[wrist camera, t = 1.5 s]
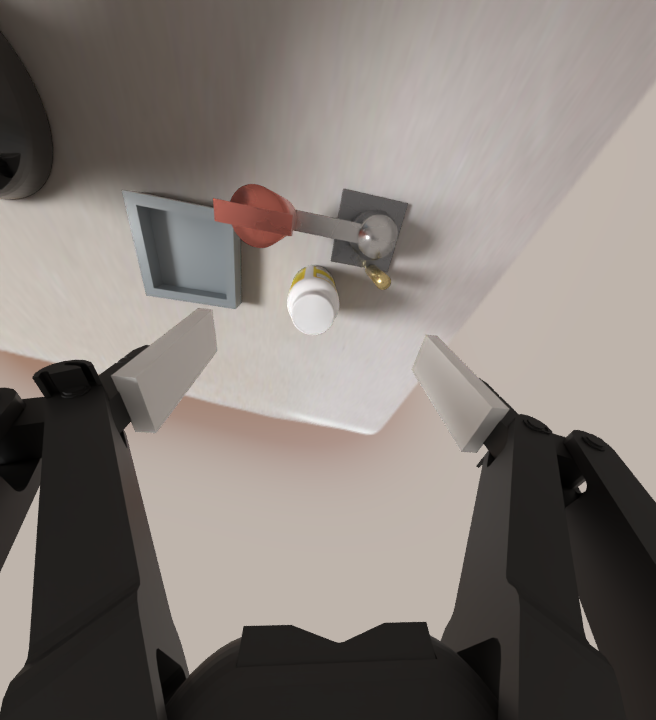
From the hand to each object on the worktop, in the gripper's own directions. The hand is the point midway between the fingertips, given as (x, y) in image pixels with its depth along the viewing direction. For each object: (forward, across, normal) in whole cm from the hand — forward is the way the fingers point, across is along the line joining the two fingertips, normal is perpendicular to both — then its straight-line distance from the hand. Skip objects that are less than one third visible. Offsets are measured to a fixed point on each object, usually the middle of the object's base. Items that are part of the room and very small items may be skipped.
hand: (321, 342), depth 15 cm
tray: (+17, -14, +1) cm, 22 cm away
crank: (+12, 0, +6) cm, 14 cm away
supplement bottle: (+17, -1, -1) cm, 17 cm away
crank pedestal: (+17, +5, +6) cm, 18 cm away
